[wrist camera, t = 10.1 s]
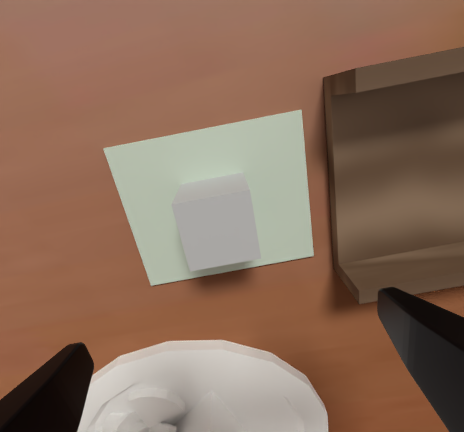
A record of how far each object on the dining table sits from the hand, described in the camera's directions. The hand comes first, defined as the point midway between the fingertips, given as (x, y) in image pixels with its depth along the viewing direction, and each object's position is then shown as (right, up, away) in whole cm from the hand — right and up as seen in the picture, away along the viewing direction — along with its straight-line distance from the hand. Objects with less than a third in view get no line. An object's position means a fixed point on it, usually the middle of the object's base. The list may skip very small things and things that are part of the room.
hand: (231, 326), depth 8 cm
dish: (-3, -18, +19) cm, 26 cm away
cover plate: (-1, +4, +11) cm, 12 cm away
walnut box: (+13, +7, +10) cm, 18 cm away
